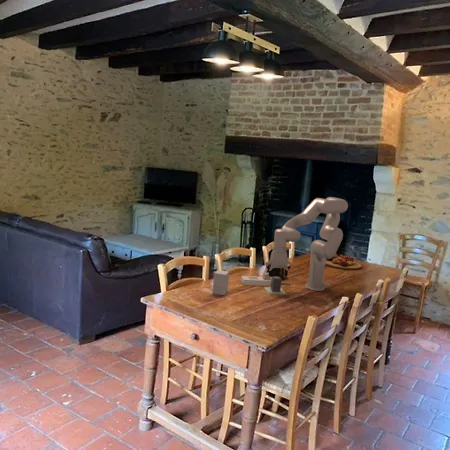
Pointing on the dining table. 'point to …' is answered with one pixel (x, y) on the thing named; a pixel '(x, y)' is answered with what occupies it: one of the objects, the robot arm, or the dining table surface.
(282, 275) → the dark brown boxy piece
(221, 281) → the supplement box
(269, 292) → the felt pad
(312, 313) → the dining table surface
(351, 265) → the wooden plate with food
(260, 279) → the power strip
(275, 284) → the block
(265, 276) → the small plug
